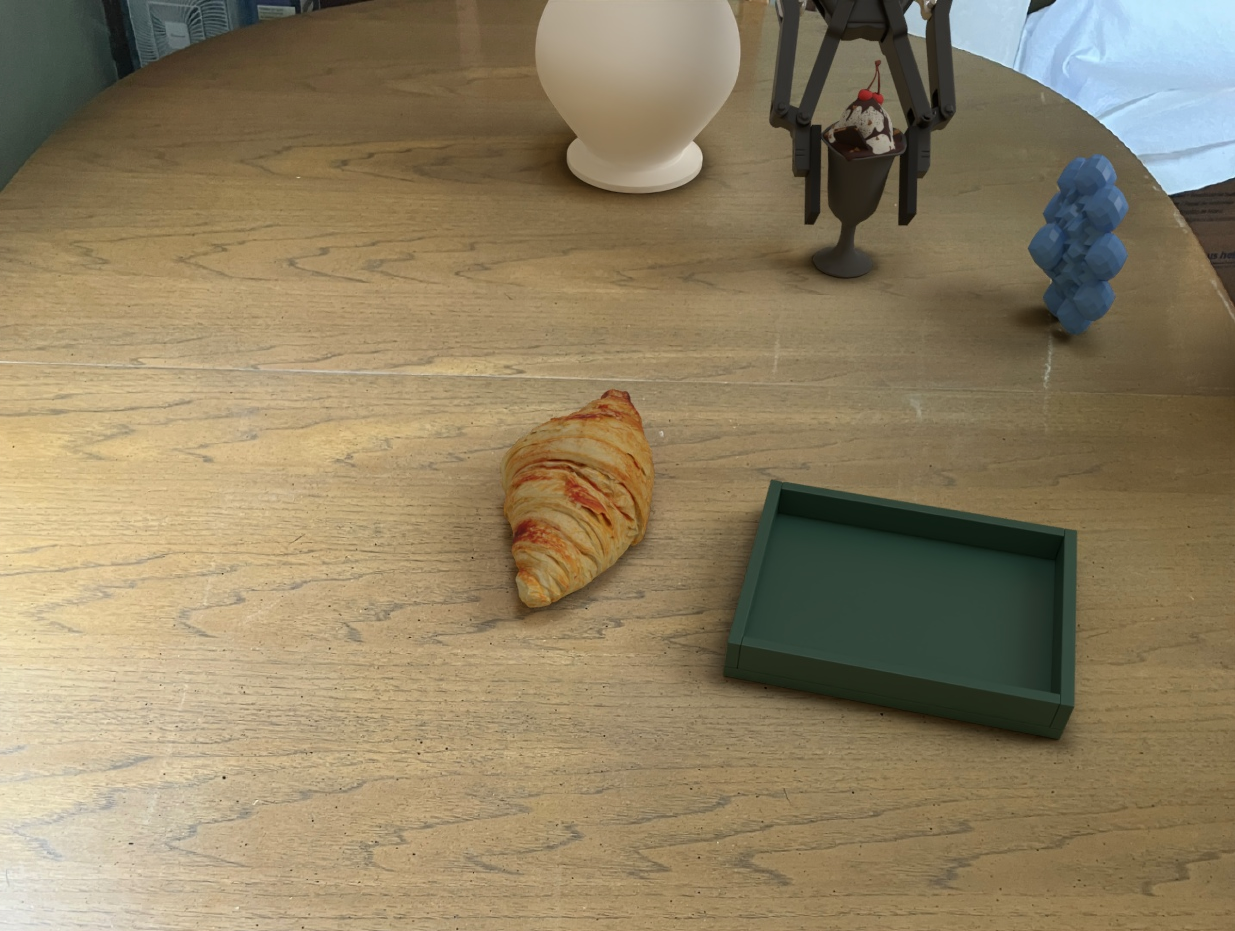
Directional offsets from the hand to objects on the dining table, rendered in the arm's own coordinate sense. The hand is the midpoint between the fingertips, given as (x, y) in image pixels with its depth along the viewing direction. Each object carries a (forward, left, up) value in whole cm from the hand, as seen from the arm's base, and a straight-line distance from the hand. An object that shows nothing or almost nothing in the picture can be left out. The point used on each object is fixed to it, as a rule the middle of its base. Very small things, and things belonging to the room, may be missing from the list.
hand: (859, 218), depth 97 cm
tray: (-8, +39, -5) cm, 40 cm away
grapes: (-16, +1, -6) cm, 17 cm away
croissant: (+14, +35, -6) cm, 38 cm away
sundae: (+1, -3, -6) cm, 7 cm away
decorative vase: (+22, -16, -6) cm, 28 cm away
